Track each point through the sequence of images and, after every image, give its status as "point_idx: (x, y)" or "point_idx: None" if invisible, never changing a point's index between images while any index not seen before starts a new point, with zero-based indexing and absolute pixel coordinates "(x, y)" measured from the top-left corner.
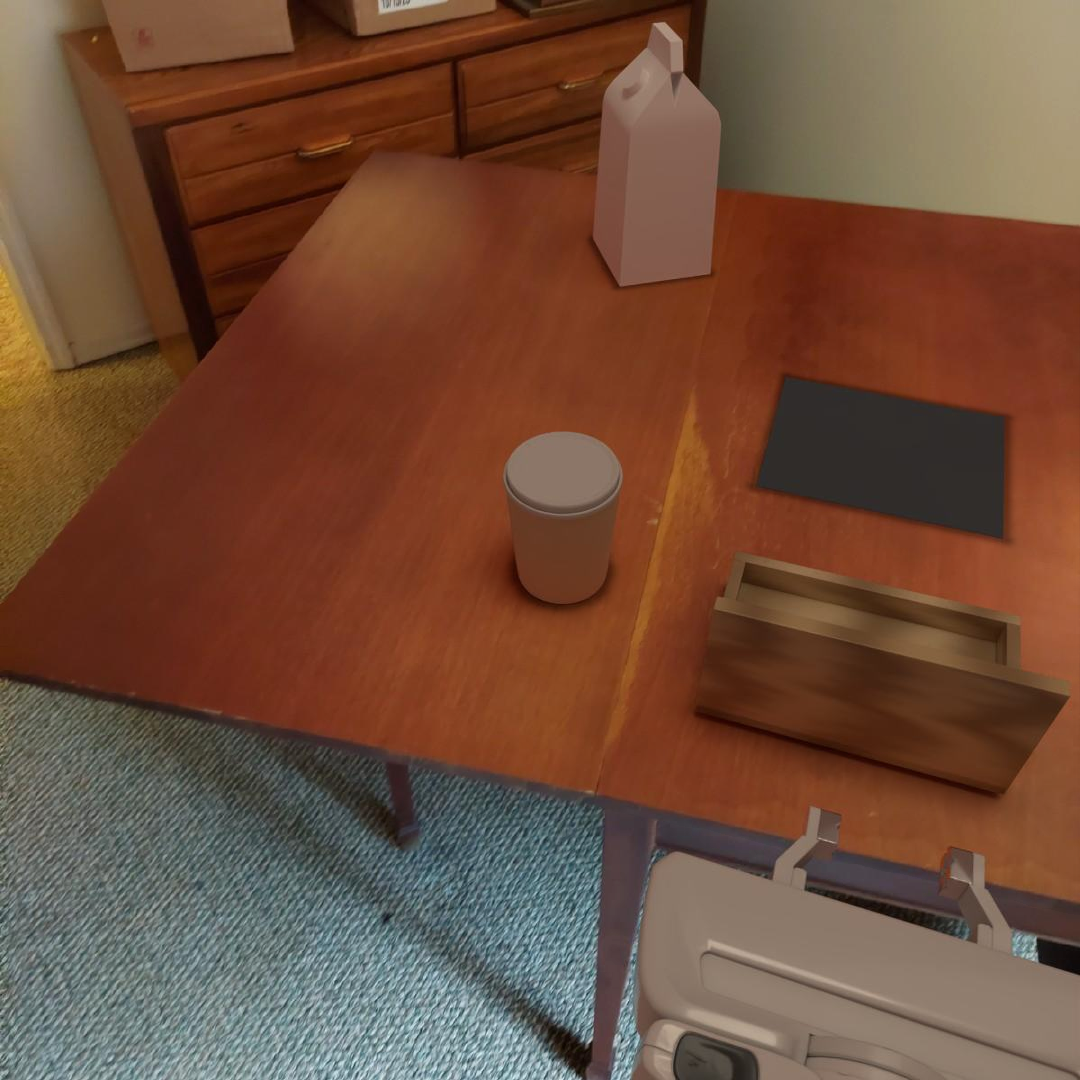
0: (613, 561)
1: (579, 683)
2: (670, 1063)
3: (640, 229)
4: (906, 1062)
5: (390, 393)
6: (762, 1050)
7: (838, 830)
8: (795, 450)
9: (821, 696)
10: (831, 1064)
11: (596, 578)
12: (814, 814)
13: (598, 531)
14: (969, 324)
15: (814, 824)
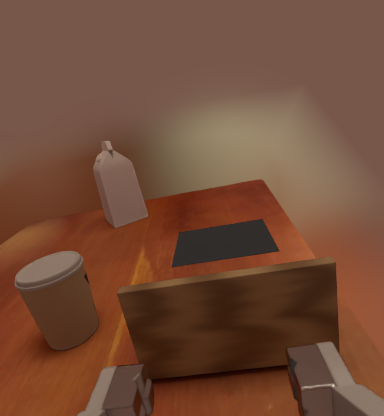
0: (103, 317)
1: (73, 391)
2: None
3: (115, 205)
4: None
5: (6, 286)
6: None
7: (136, 384)
8: (186, 251)
9: (206, 332)
10: None
11: (86, 325)
12: (105, 375)
13: (72, 292)
14: (240, 202)
15: (102, 389)
